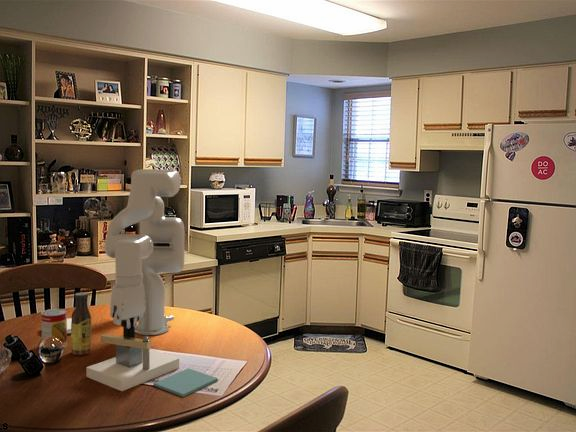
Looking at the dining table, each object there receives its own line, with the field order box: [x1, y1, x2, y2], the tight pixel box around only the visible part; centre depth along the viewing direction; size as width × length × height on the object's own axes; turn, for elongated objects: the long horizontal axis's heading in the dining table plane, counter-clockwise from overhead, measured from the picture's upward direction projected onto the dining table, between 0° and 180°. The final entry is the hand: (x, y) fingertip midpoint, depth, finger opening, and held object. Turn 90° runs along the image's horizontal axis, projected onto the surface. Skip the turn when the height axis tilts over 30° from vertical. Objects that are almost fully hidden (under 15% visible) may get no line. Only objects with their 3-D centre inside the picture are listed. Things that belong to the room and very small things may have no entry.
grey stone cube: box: [115, 344, 142, 368], centre depth 170 cm, size 5×6×6 cm
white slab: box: [86, 347, 180, 392], centre depth 171 cm, size 22×16×10 cm
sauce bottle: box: [70, 292, 92, 356], centre depth 185 cm, size 7×6×20 cm
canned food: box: [40, 308, 68, 349], centre depth 190 cm, size 8×8×12 cm
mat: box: [153, 367, 219, 398], centre depth 164 cm, size 14×12×1 cm
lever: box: [99, 333, 152, 349], centre depth 168 cm, size 2×16×3 cm, turn 72°
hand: (129, 339), depth 170 cm, fingers closed
